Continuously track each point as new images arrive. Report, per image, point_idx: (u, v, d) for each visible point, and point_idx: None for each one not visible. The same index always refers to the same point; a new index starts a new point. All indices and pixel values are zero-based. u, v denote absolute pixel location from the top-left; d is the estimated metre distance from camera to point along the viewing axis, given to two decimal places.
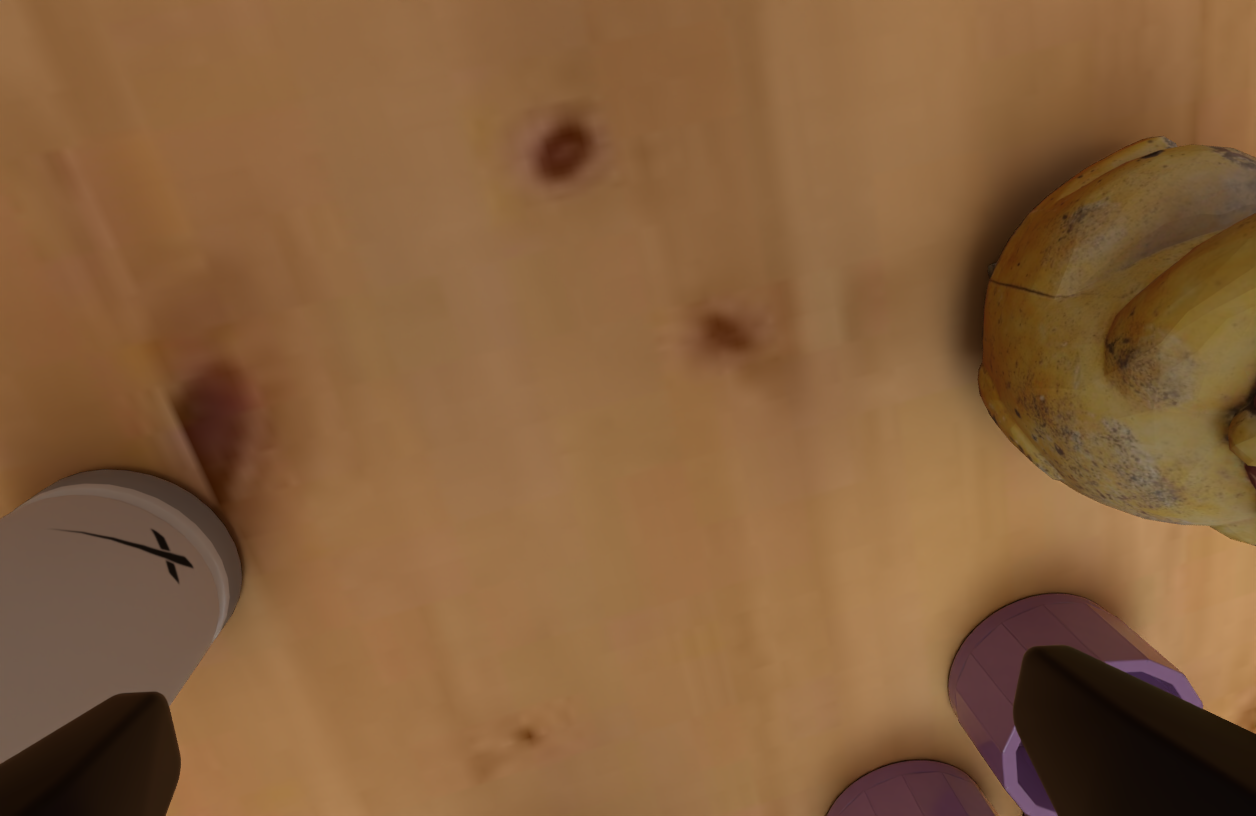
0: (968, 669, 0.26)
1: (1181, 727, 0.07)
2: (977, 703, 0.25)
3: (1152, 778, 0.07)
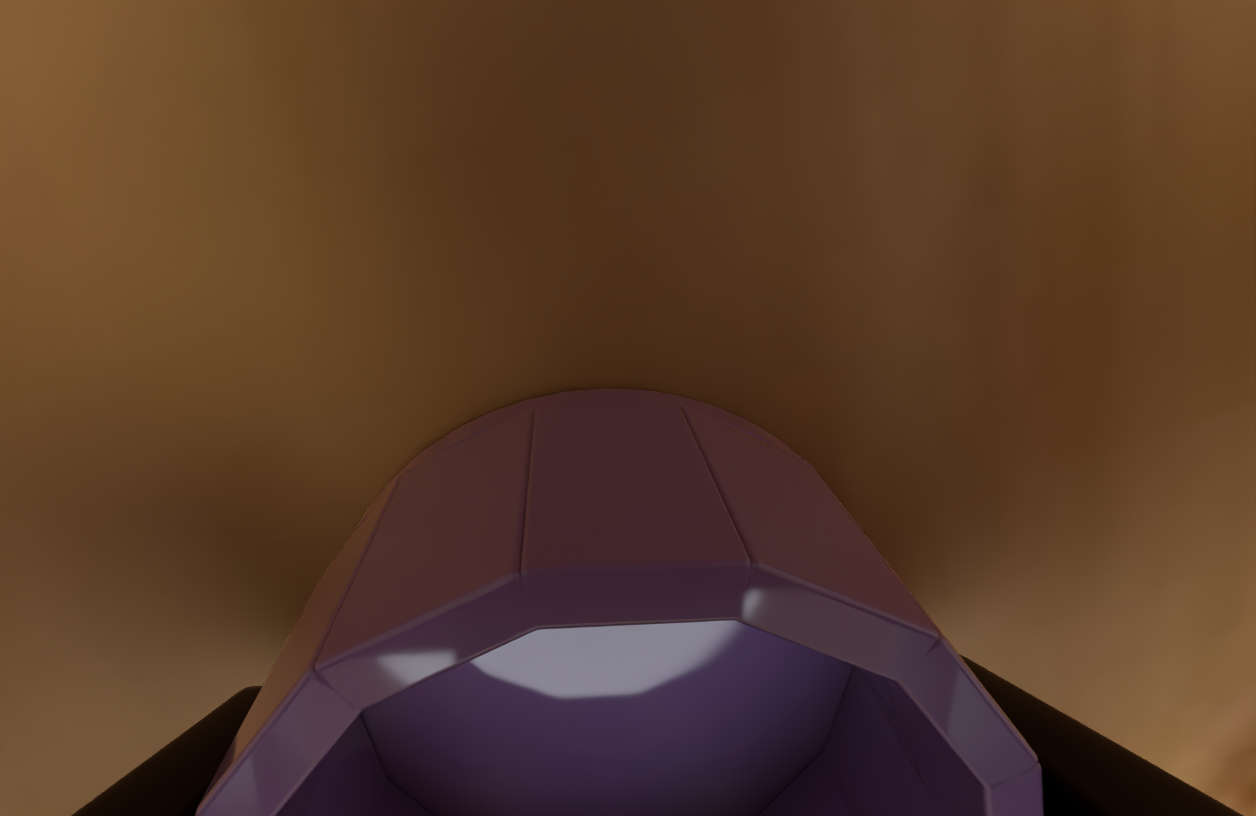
0: None
1: (1042, 736, 0.07)
2: None
3: None
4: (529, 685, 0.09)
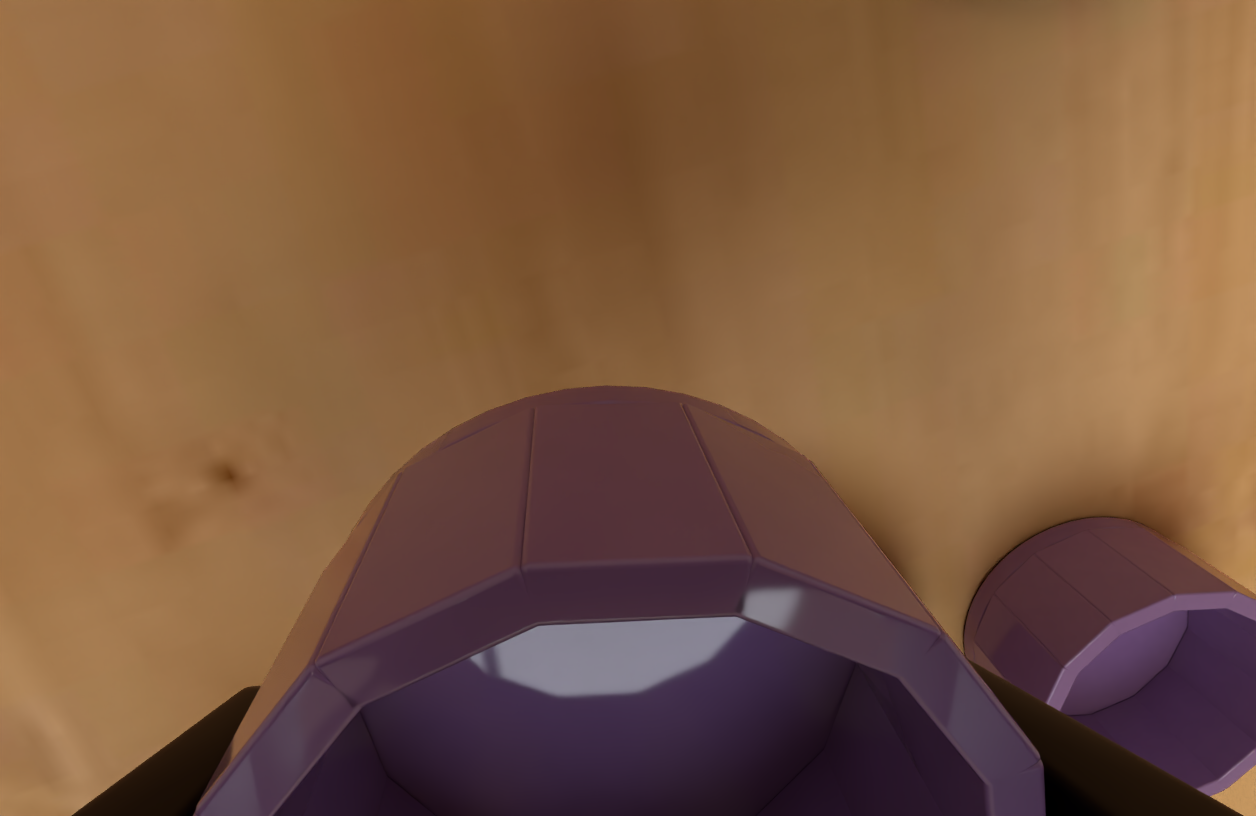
0: None
1: (1042, 735, 0.07)
2: None
3: None
4: (530, 683, 0.08)
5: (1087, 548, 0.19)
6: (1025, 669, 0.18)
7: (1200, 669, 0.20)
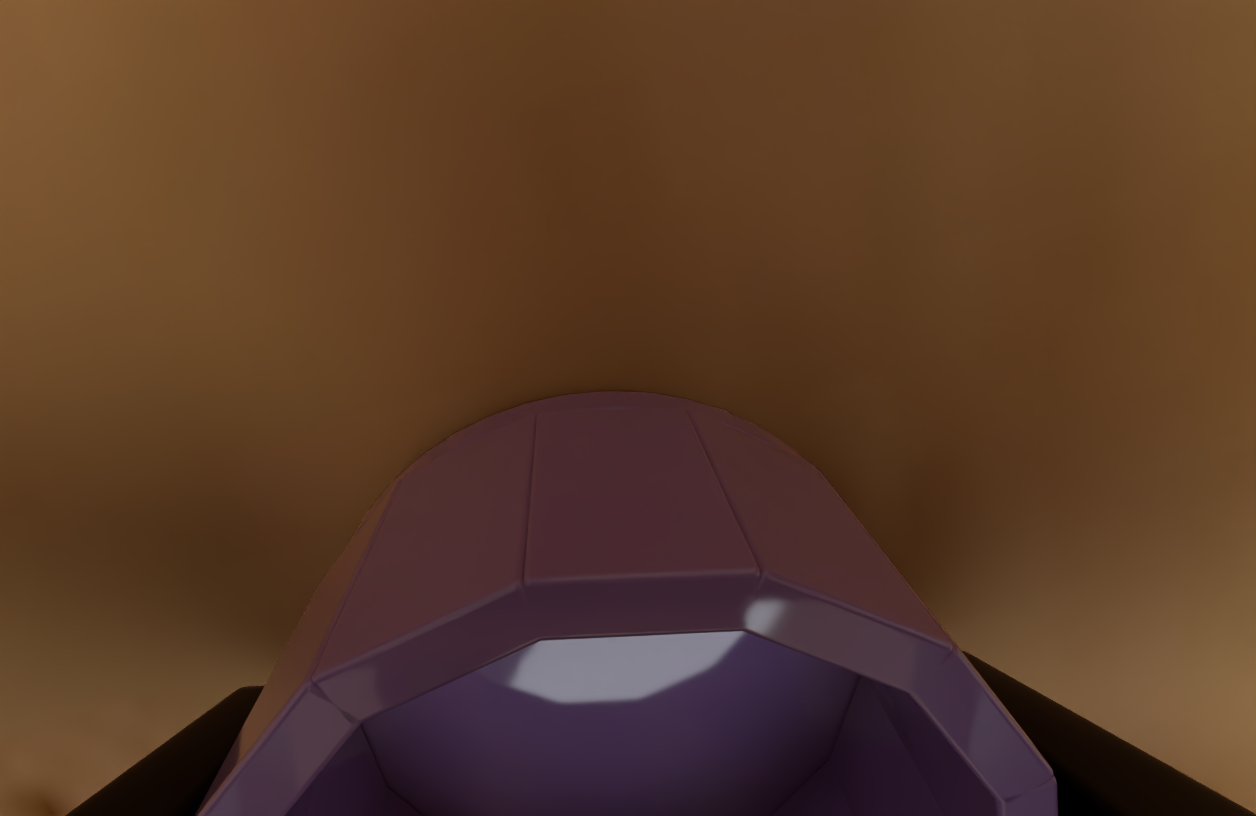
0: None
1: (1053, 735, 0.07)
2: None
3: None
4: (531, 692, 0.08)
5: None
6: None
7: None
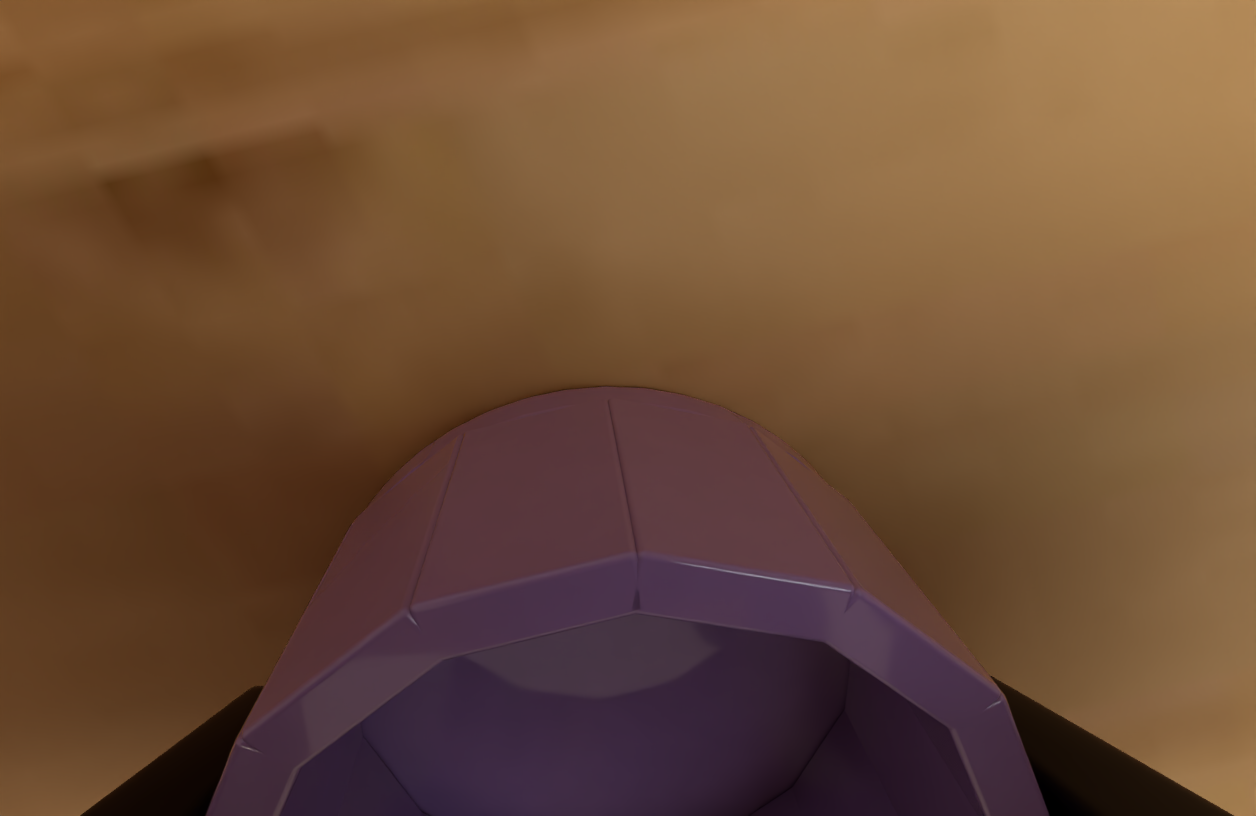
0: None
1: (1034, 736, 0.07)
2: None
3: None
4: None
5: None
6: None
7: None
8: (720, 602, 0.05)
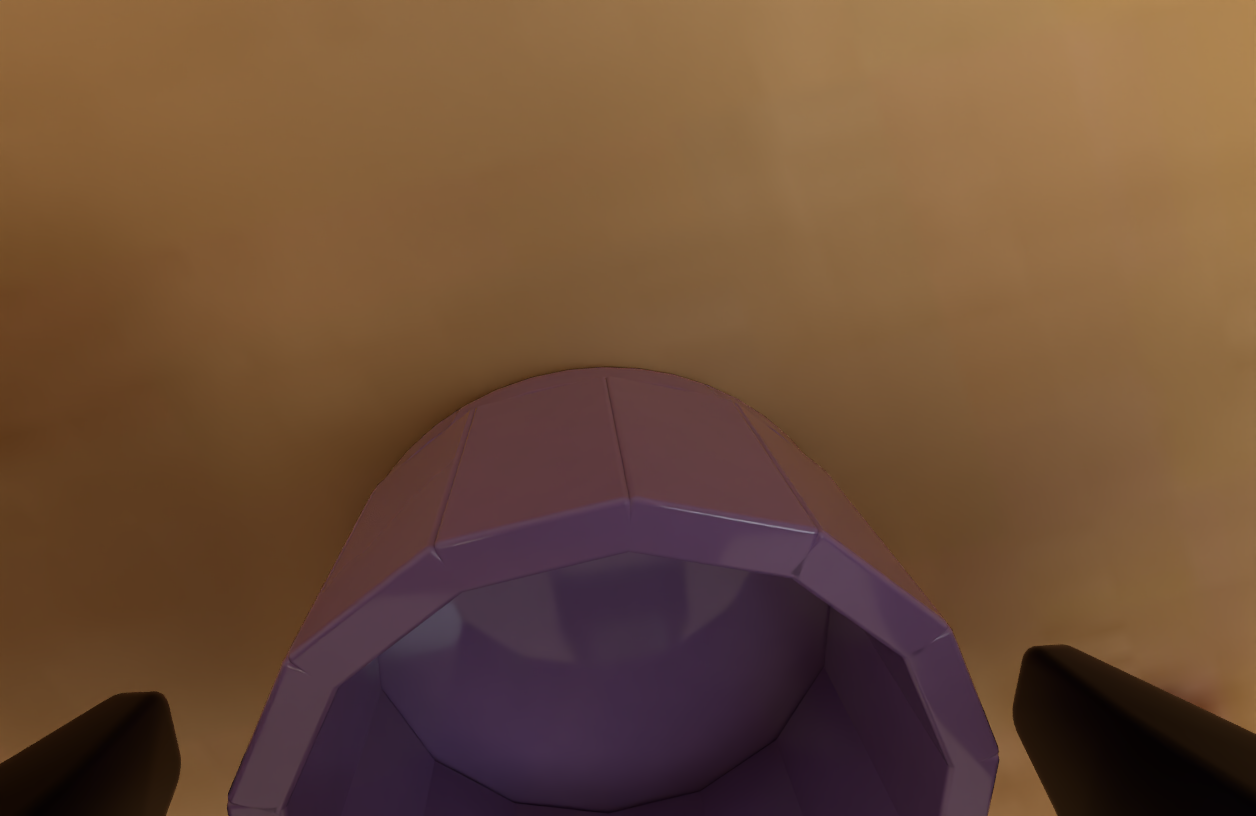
0: None
1: (1181, 727, 0.07)
2: None
3: (1152, 778, 0.07)
4: None
5: None
6: None
7: None
8: (701, 542, 0.06)
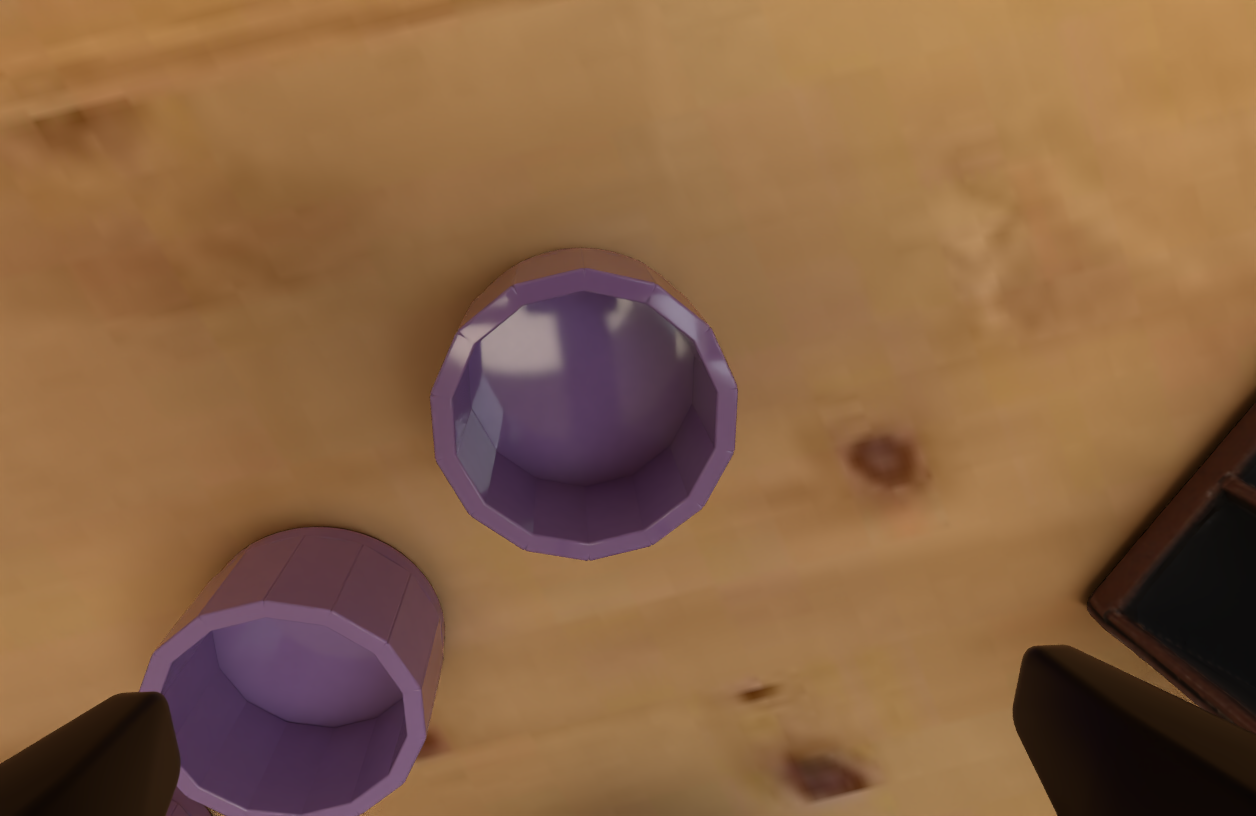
0: None
1: (1181, 727, 0.07)
2: None
3: (1152, 778, 0.07)
4: None
5: None
6: None
7: None
8: (611, 286, 0.15)
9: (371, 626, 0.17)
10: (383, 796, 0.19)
